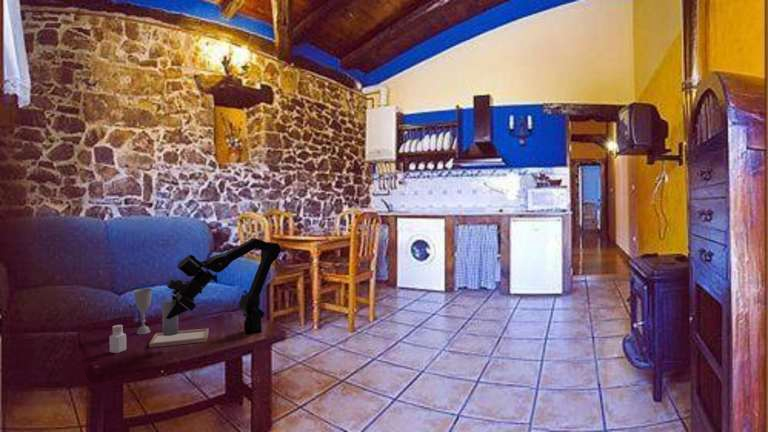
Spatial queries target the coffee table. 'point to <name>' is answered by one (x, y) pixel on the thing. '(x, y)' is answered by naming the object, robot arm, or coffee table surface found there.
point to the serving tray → (180, 338)
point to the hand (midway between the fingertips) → (166, 316)
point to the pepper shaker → (117, 339)
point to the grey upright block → (169, 324)
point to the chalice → (143, 306)
